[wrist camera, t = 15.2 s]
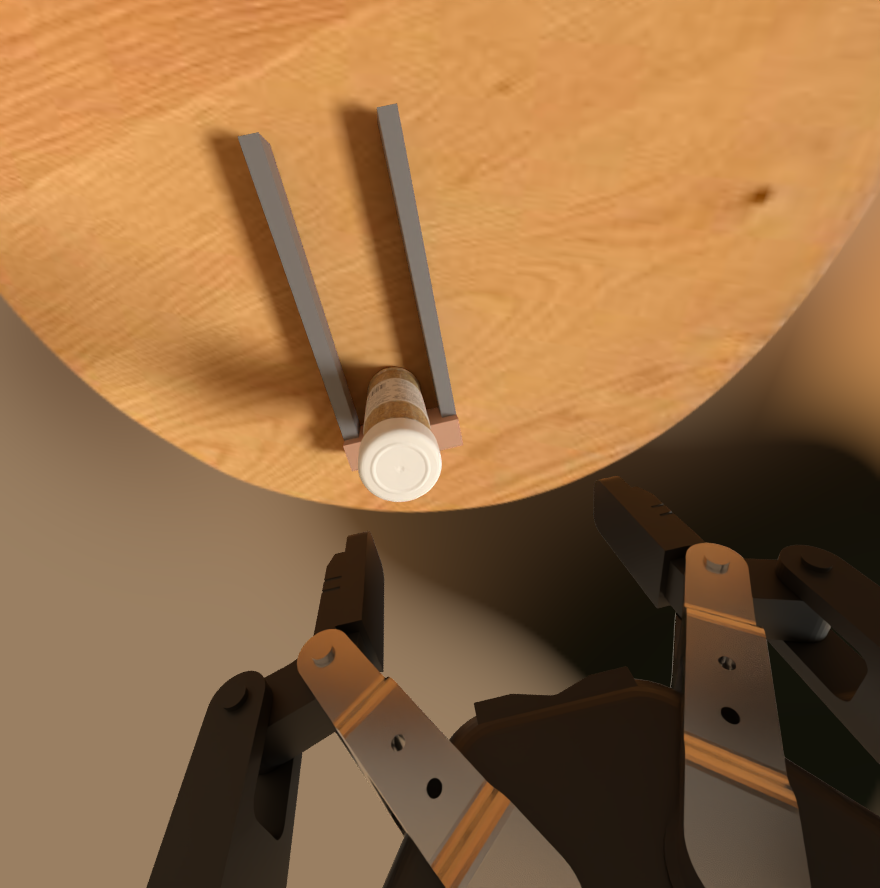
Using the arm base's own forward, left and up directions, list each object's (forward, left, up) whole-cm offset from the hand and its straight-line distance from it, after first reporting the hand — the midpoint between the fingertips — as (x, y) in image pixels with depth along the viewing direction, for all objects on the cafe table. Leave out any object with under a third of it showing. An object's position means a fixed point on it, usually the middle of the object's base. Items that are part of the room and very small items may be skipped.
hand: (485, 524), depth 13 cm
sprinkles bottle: (+1, -3, -21) cm, 21 cm away
